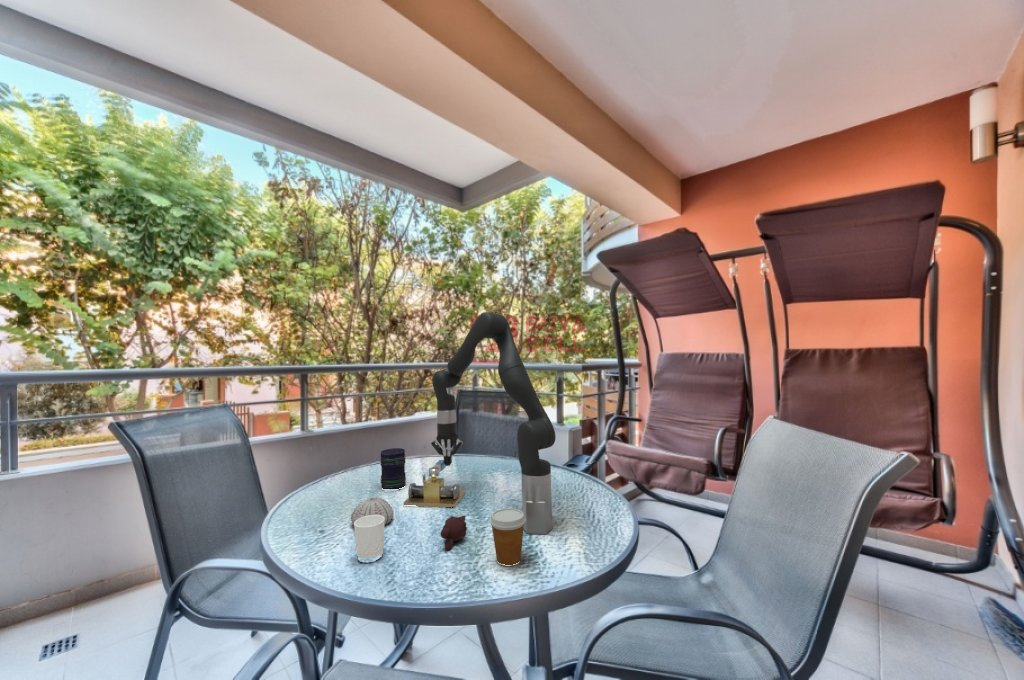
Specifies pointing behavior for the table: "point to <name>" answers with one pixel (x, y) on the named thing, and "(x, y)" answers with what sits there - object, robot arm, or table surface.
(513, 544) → the disposable coffee cup
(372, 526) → the white cup
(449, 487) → the valve
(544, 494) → the robot arm
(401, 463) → the storage jar
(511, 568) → the table surface
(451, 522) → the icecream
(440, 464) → the lever
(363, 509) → the sea urchin shell
